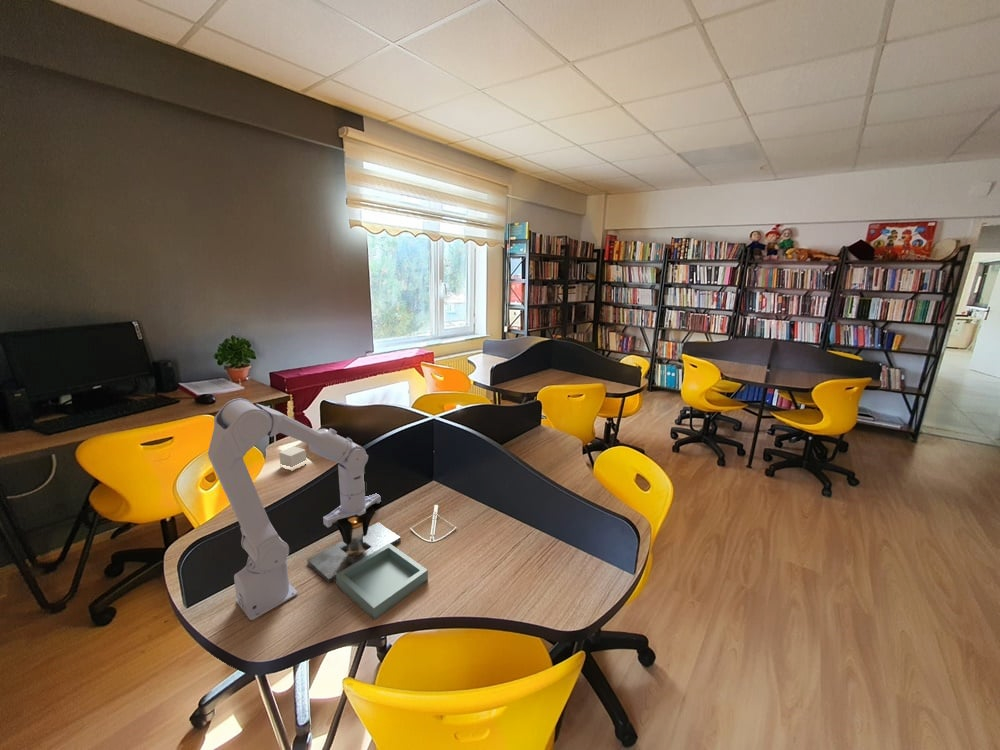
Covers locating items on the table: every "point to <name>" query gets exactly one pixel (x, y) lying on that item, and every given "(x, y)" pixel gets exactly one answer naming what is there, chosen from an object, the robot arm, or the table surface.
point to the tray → (381, 580)
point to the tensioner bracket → (338, 560)
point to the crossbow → (433, 527)
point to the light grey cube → (292, 456)
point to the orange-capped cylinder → (356, 534)
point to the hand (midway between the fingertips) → (355, 538)
